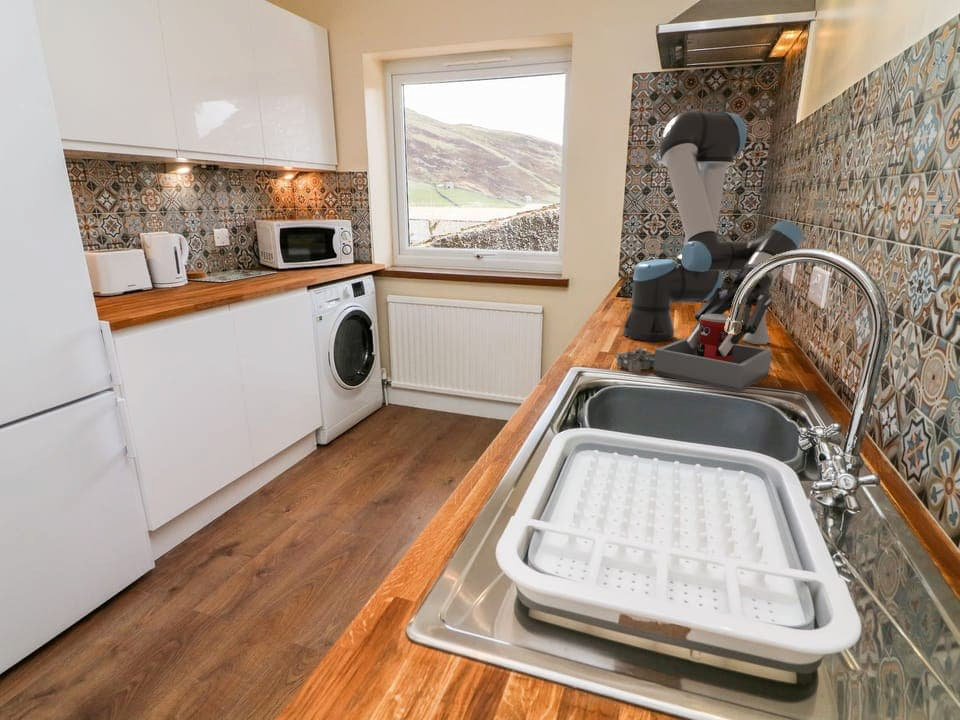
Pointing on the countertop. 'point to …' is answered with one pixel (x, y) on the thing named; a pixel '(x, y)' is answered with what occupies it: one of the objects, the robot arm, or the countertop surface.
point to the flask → (759, 333)
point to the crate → (713, 366)
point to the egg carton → (635, 359)
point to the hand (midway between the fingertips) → (705, 348)
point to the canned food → (712, 337)
